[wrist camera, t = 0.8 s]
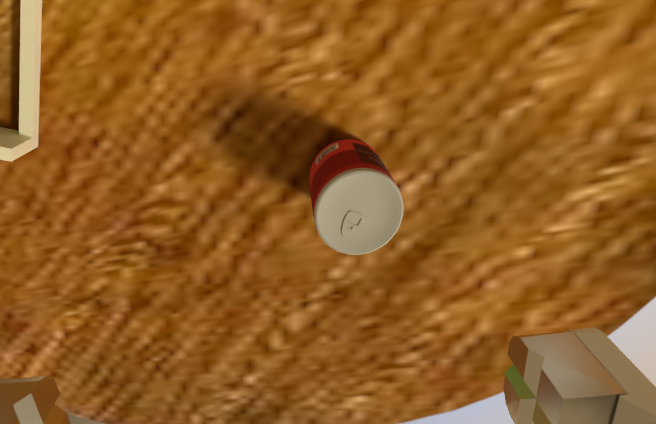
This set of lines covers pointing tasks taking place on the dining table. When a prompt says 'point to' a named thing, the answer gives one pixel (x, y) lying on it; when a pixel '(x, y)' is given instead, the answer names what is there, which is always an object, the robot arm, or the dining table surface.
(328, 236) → the canned food
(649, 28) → the dining table surface
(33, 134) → the frame
